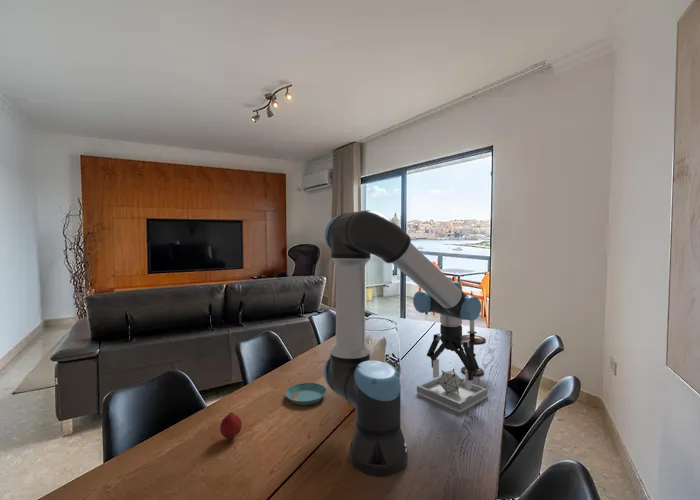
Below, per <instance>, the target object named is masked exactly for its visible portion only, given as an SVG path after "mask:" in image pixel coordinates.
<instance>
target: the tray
mask: <svg viewBox="0 0 700 500" xmlns="http://www.w3.org/2000/svg"><path fill="white" fill-rule="evenodd" d="M441 376H442V374H441V375H439V376H438V377H436V378H431V379H429V380H426V381H425V382H423V383H420V384H418V385H416V395H419V396H421V397H423V398H426V399H427V400H429V401H432V402H434V403H436V404H439V405H441V406H442V407H445V408H448V409H450V410H453V411H455V412H456V413H459V414H461V413H462V412H464V411H466V410H468V409H469V408H471V407H473V406H475V405H477V404H478V403H480V402H482V401H483V400H485V399H487V398H488V388H486V387H484V386H480V385H477V384H474V383H472V388H471V389H469V390H465V380H464V381H462V382H461V385H460V387H459V389H458V391H459V393H458V392H451V393H448V395H446V393H447V392H446V391H445V390H444V389H443V388H442V386H441V385H440V384H439V383H438V384H437V382H439V381H440V378H441Z"/></svg>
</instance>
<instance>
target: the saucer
mask: <svg viewBox="0 0 700 500" xmlns="http://www.w3.org/2000/svg"><path fill="white" fill-rule="evenodd" d="M327 391H328V390H327V387H326V386H324V385H323V384H321V383H316V382H302V383H298V384H294V385H293V386H290V387H289V388H288V389H286V391H285V396H286V398H287V399H288V400H289V401H291V402H292V403H293V404H294V405H298V404H299V405H298V406H309V405H310V404H311V405H314V404H317V403H319V402H320V401H321V400H322V399H323V398H324V397H325V395H326V394H327ZM297 392H298V393H299V395H298V394H297V396H298V399H299V397H300V399H301V398H302V400H300V401H296V400H292V399H291V397H292V395H293V394H295V393H297ZM295 396H296V395H295ZM297 396H296V399H297Z"/></svg>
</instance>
